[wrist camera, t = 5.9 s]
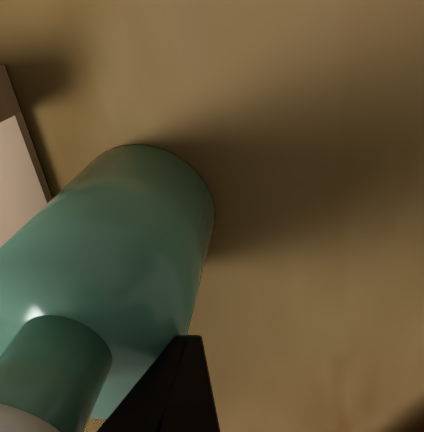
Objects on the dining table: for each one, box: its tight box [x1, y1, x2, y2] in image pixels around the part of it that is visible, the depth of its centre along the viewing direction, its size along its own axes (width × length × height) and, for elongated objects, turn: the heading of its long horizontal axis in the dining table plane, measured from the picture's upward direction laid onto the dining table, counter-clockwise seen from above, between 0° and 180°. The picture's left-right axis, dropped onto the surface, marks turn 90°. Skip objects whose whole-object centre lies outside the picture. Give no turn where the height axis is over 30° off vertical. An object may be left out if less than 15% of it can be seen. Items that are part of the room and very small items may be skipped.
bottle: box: [0, 145, 215, 432], centre depth 10 cm, size 5×5×9 cm
